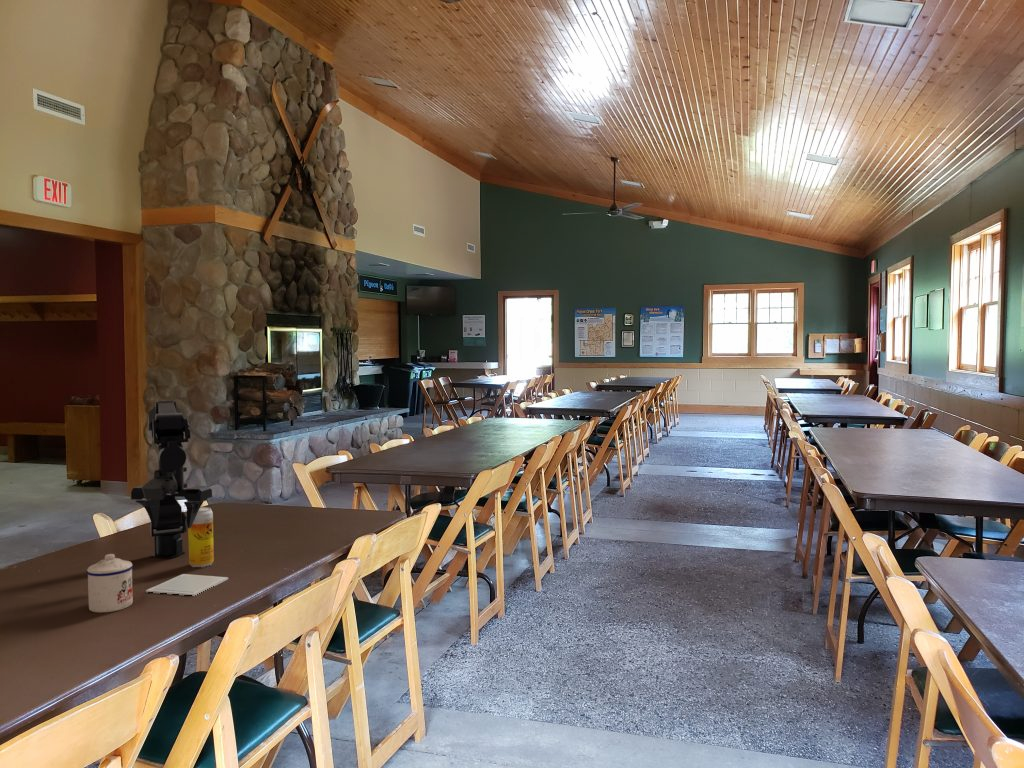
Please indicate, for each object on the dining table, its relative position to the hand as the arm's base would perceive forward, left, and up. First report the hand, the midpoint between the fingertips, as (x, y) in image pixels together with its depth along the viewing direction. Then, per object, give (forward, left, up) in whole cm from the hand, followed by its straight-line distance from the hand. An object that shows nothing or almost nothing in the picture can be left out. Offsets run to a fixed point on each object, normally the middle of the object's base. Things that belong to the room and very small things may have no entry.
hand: (172, 527), depth 181 cm
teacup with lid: (-1, -18, -13) cm, 23 cm away
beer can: (-1, +13, -13) cm, 18 cm away
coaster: (+7, -3, -13) cm, 15 cm away
